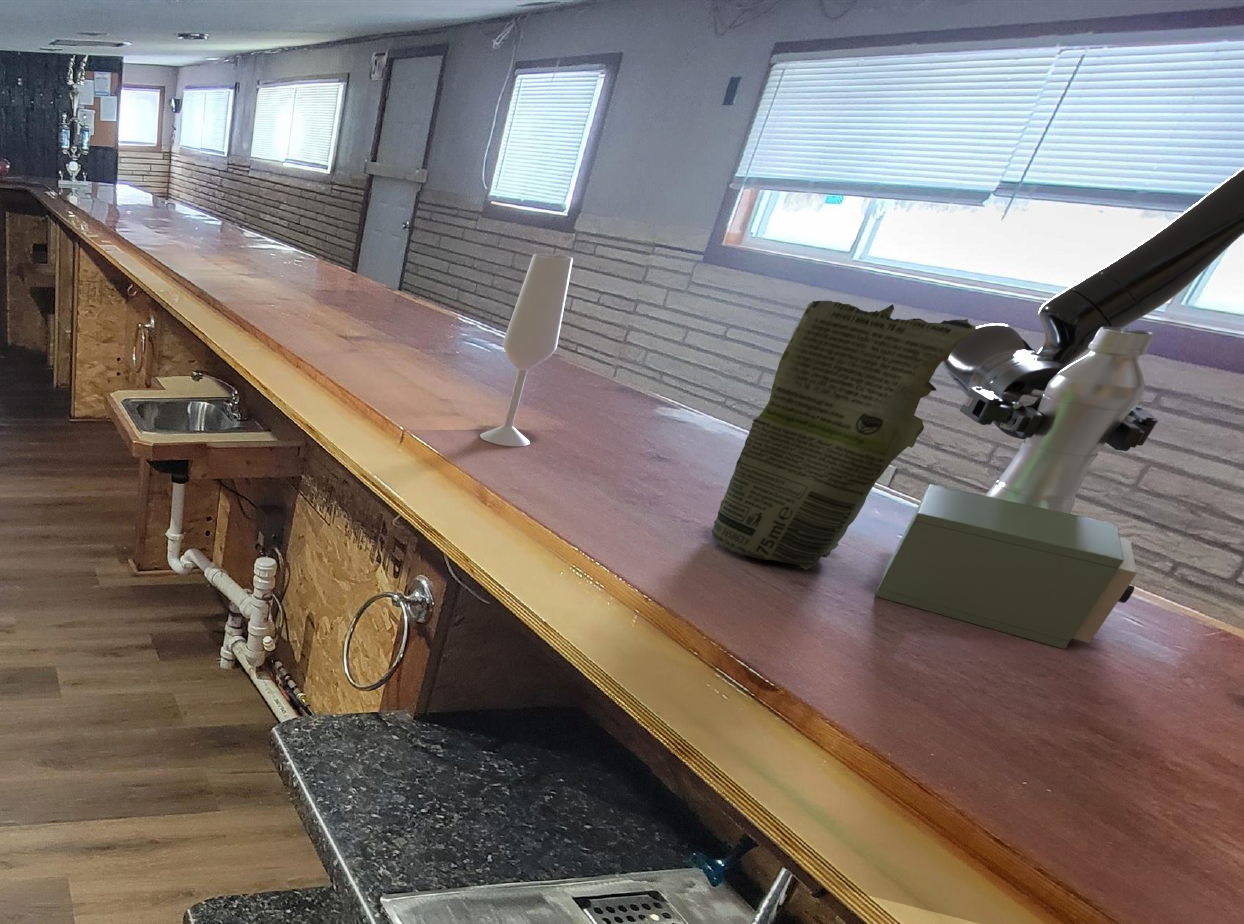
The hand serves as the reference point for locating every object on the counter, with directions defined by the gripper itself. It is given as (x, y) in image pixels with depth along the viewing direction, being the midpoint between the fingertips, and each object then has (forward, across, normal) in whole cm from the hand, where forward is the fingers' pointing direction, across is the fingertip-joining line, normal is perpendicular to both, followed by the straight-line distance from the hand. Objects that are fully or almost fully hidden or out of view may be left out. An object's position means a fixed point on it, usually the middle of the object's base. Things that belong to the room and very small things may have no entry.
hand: (1079, 433), depth 84 cm
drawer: (+11, +2, -14) cm, 18 cm away
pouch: (+7, +20, -15) cm, 26 cm away
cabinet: (+10, +4, -15) cm, 18 cm away
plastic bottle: (-2, 0, -11) cm, 11 cm away
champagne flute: (-17, +51, -15) cm, 56 cm away
